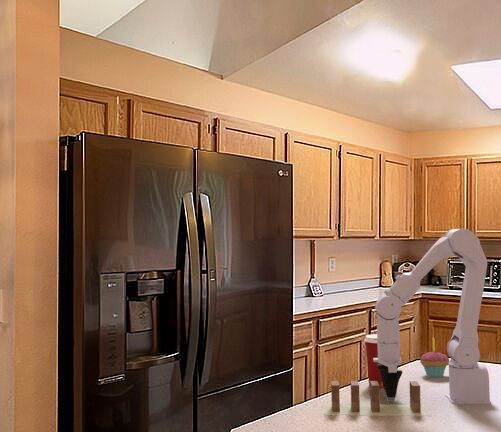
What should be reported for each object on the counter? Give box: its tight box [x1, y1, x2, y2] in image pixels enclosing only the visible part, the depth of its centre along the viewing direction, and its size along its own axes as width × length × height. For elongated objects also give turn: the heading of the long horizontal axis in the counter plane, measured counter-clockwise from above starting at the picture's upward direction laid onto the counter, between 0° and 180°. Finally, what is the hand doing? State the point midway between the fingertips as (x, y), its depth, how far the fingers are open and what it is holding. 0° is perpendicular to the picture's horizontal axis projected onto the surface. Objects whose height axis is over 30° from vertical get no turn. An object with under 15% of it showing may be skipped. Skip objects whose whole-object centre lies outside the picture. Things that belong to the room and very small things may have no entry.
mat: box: [323, 403, 432, 417], centre depth 149 cm, size 25×9×1 cm, turn 84°
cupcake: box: [419, 334, 450, 378], centre depth 184 cm, size 9×8×12 cm
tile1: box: [409, 380, 422, 413], centre depth 148 cm, size 2×4×6 cm, turn 174°
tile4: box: [350, 380, 361, 412], centre depth 149 cm, size 2×4×6 cm, turn 174°
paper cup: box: [364, 333, 384, 389], centre depth 173 cm, size 8×8×14 cm
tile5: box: [330, 380, 341, 412], centre depth 150 cm, size 2×4×6 cm, turn 174°
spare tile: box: [384, 390, 396, 402], centre depth 158 cm, size 2×4×6 cm, turn 174°
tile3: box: [369, 381, 381, 412], centre depth 149 cm, size 2×4×6 cm, turn 174°
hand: (389, 394), depth 158 cm, fingers open, 5 cm apart
